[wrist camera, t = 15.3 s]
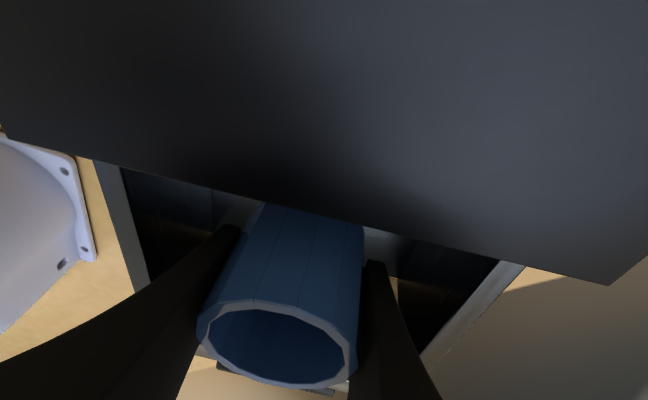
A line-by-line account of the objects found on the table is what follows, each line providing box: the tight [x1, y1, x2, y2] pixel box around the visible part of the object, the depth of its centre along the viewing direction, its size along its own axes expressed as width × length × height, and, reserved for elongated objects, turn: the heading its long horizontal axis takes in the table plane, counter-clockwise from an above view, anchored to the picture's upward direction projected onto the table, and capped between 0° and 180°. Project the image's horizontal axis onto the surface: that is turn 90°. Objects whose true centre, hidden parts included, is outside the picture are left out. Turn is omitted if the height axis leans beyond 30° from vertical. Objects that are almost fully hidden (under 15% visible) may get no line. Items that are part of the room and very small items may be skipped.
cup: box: [195, 202, 366, 389], centre depth 11 cm, size 5×5×5 cm
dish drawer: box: [92, 160, 526, 397], centre depth 14 cm, size 19×13×6 cm
